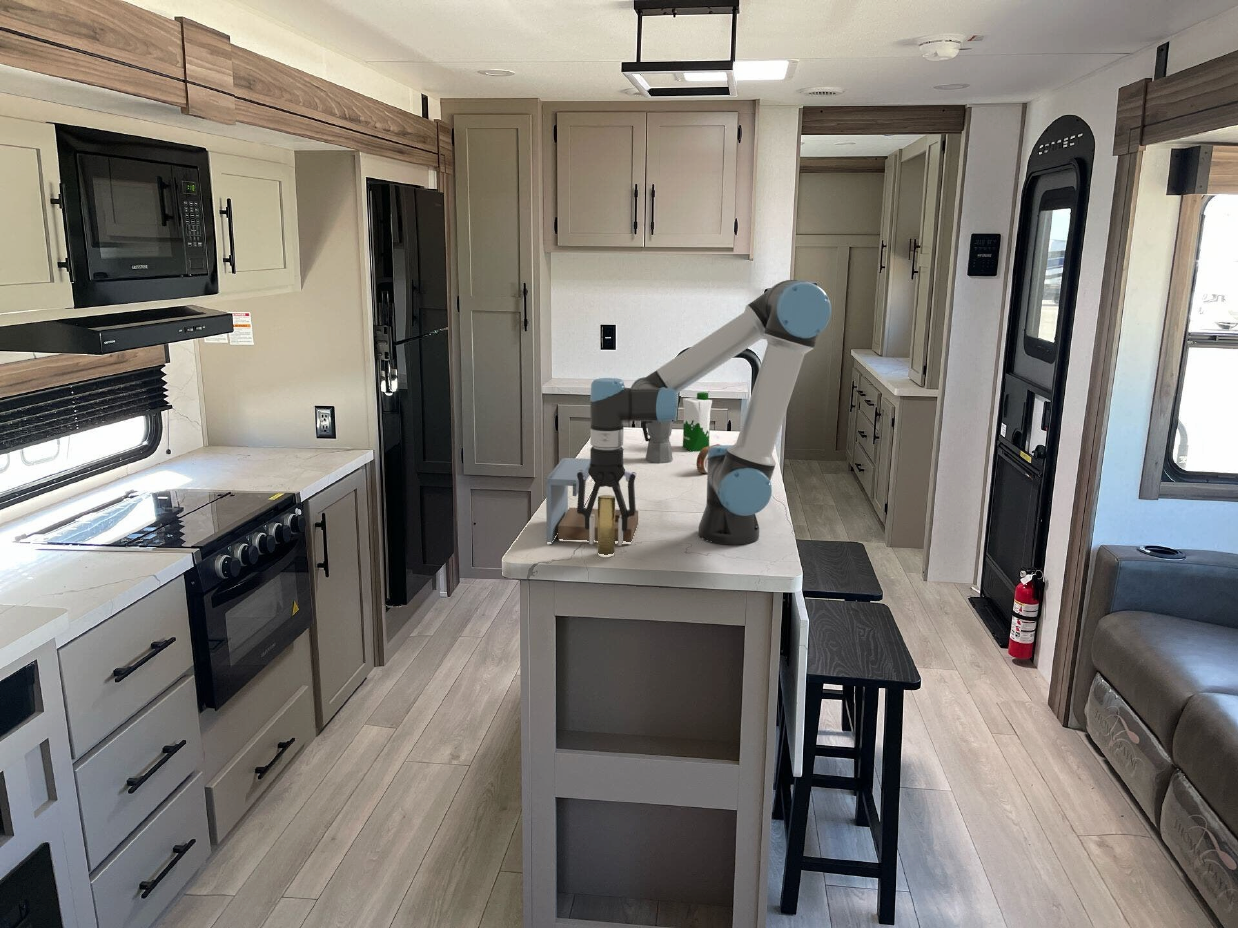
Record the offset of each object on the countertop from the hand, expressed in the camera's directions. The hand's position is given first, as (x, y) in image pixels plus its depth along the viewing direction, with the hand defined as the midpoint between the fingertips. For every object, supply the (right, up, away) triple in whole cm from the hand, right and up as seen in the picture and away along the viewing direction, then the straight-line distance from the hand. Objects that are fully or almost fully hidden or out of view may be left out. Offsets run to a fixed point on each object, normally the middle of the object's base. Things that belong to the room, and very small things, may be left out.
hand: (606, 542), depth 213 cm
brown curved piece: (+33, +16, +81) cm, 89 cm away
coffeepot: (+16, +19, +94) cm, 98 cm away
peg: (0, -3, +1) cm, 3 cm away
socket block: (-2, +1, +17) cm, 17 cm away
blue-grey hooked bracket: (-10, +1, +17) cm, 20 cm away
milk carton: (+30, +24, +113) cm, 119 cm away
